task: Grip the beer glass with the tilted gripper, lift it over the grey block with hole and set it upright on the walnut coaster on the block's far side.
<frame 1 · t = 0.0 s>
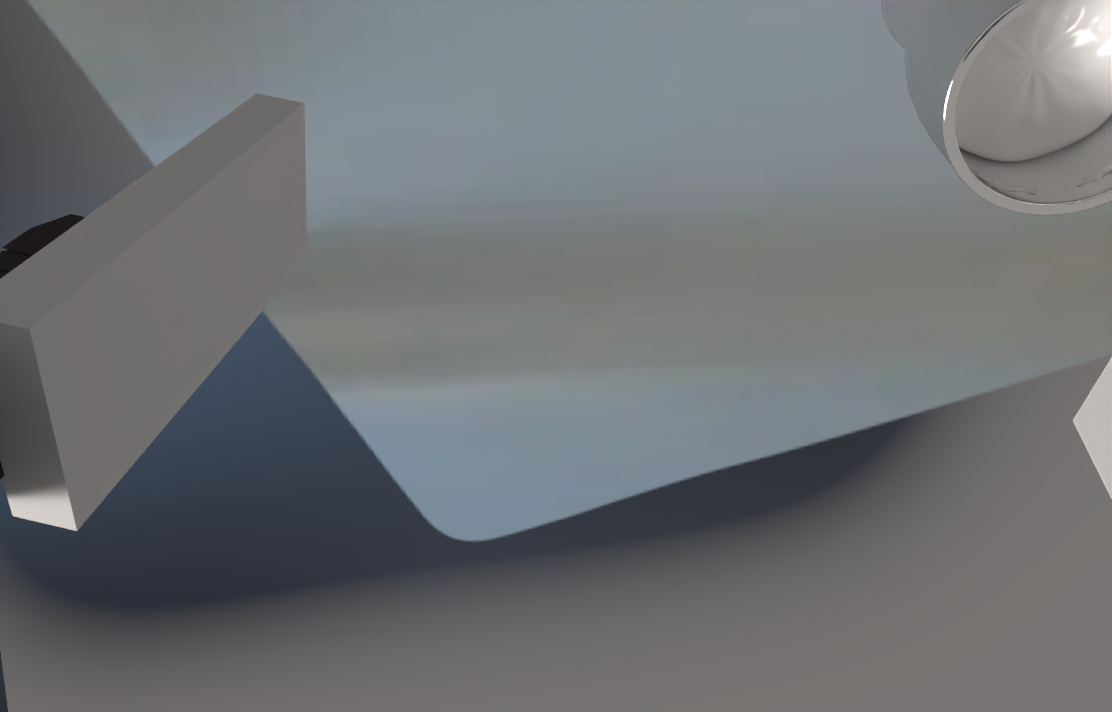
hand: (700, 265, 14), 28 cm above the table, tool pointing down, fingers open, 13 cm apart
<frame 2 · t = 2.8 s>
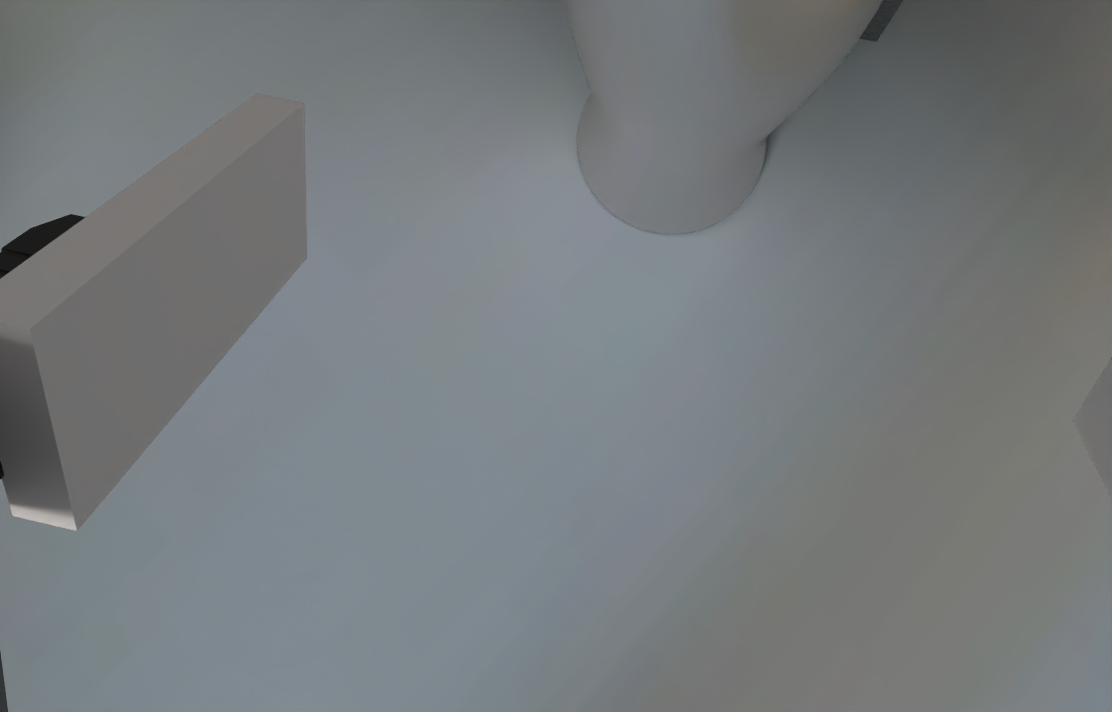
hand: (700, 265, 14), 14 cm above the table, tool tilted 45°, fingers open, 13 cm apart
beer glass: (669, 149, 30), on the table
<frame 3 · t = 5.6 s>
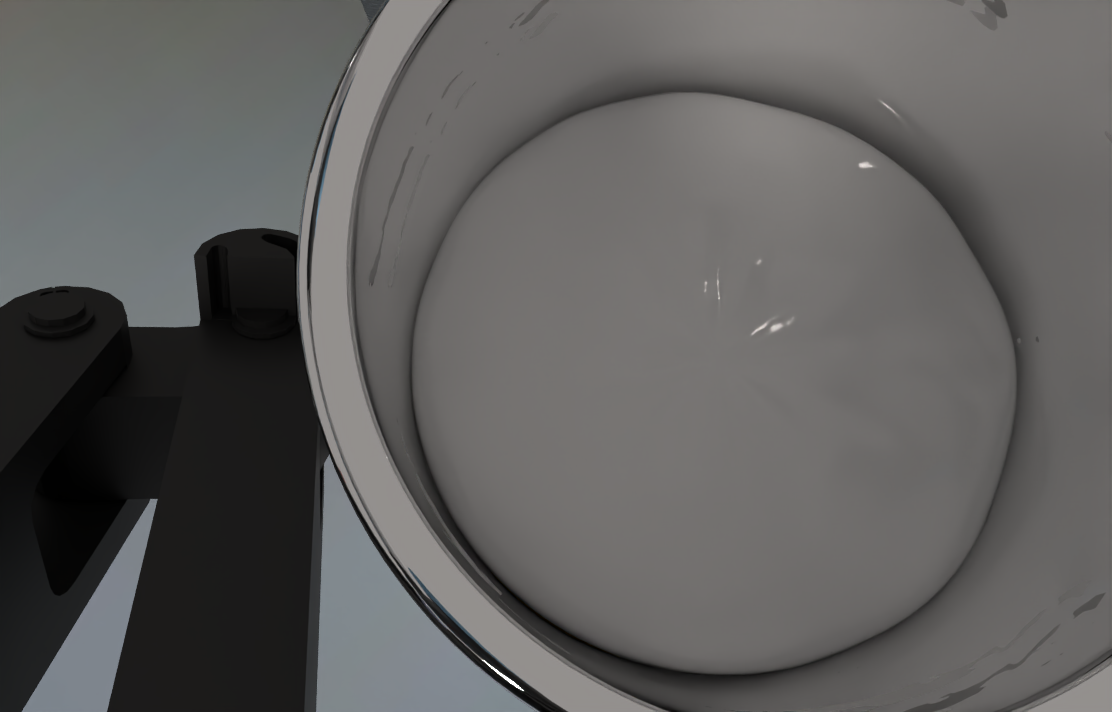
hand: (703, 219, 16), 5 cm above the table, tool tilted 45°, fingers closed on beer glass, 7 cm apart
beer glass: (638, 446, 21), on the table, touching gripper
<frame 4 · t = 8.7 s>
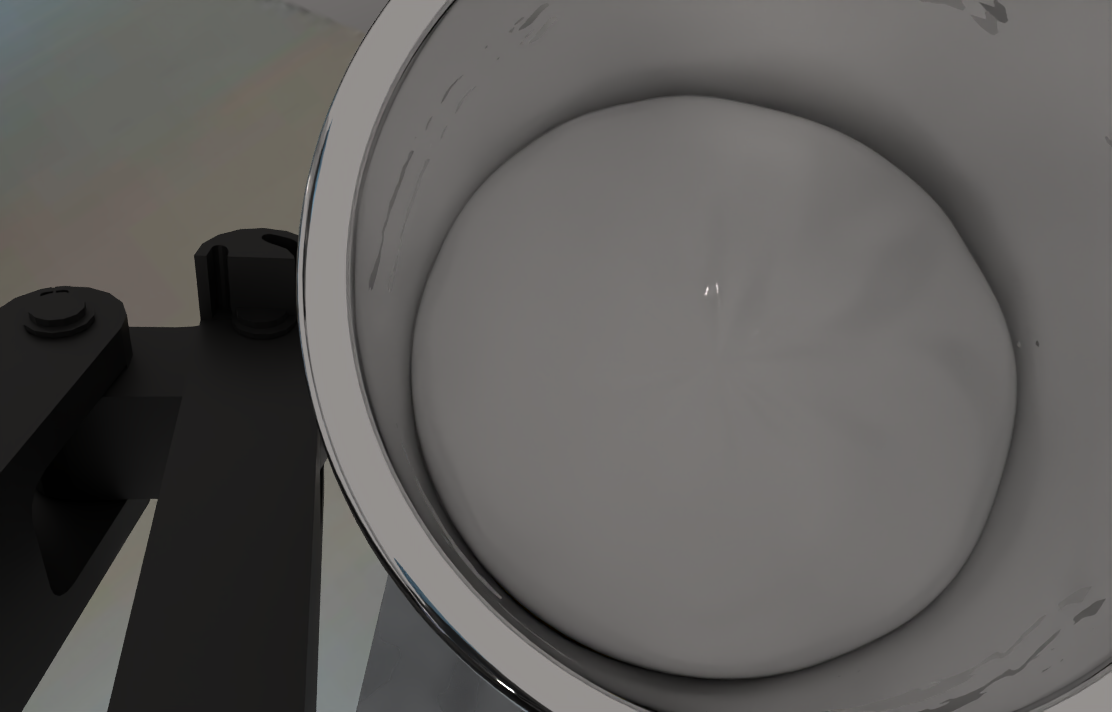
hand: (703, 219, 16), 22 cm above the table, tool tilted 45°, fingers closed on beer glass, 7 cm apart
beer glass: (638, 447, 21), point 16 cm above the table, touching gripper
grey block with hole: (566, 666, 35), on the table
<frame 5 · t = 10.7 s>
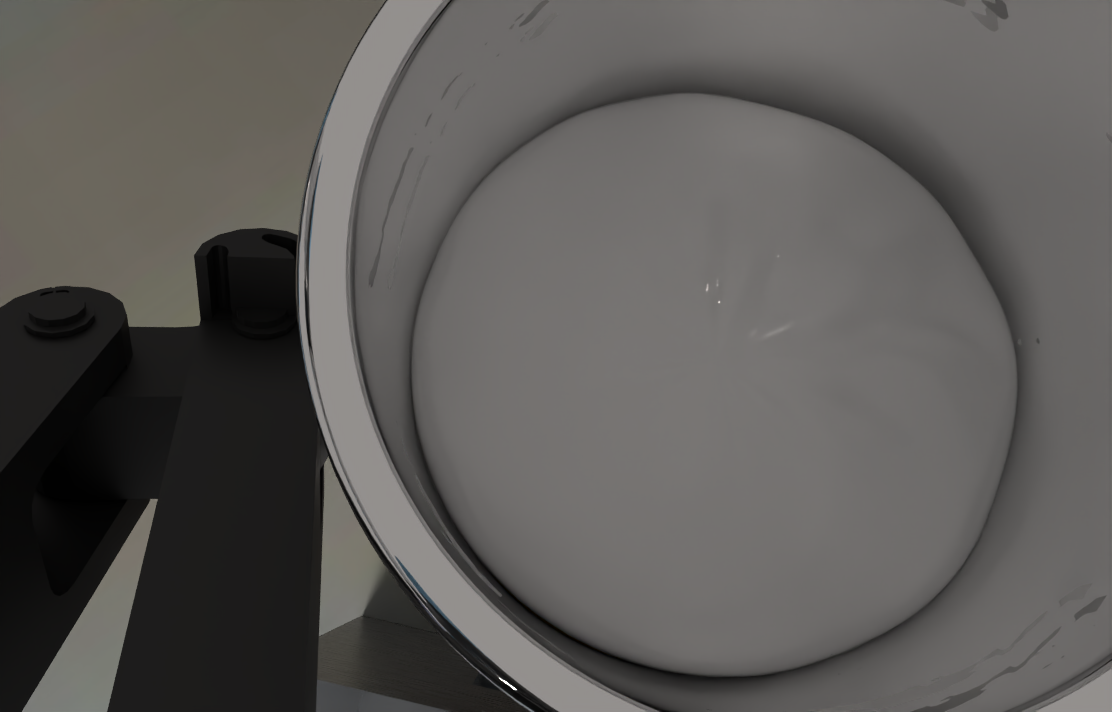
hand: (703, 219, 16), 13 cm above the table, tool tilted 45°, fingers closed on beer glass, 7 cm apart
beer glass: (638, 446, 21), point 7 cm above the table, touching gripper
when the fingers open (8 cm above the table, at t = 12.0 s): beer glass drops 1 cm, resting on walnut coaster.
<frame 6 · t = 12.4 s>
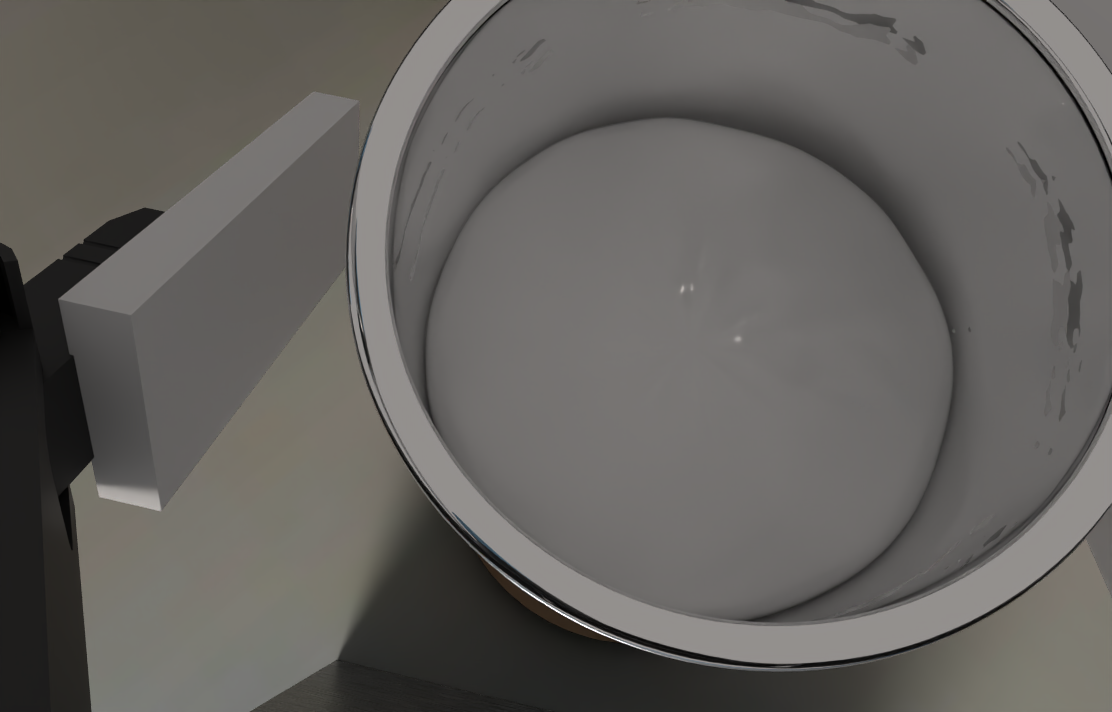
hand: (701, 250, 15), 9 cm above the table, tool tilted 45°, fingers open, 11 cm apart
walnut coaster: (631, 453, 23), on the table
beer glass: (628, 449, 22), point 1 cm above the table, touching walnut coaster
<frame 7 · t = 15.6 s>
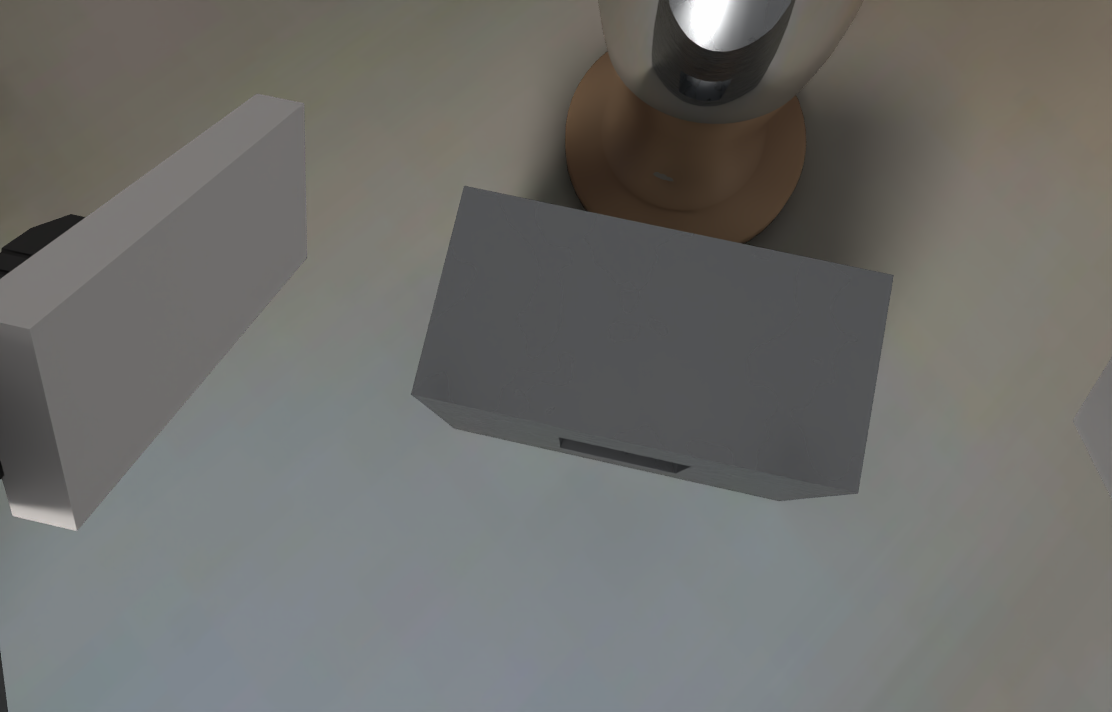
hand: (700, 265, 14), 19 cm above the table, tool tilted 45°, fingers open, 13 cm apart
walnut coaster: (682, 146, 35), on the table
beer glass: (681, 137, 34), point 1 cm above the table, touching walnut coaster
grey block with hole: (631, 384, 33), on the table
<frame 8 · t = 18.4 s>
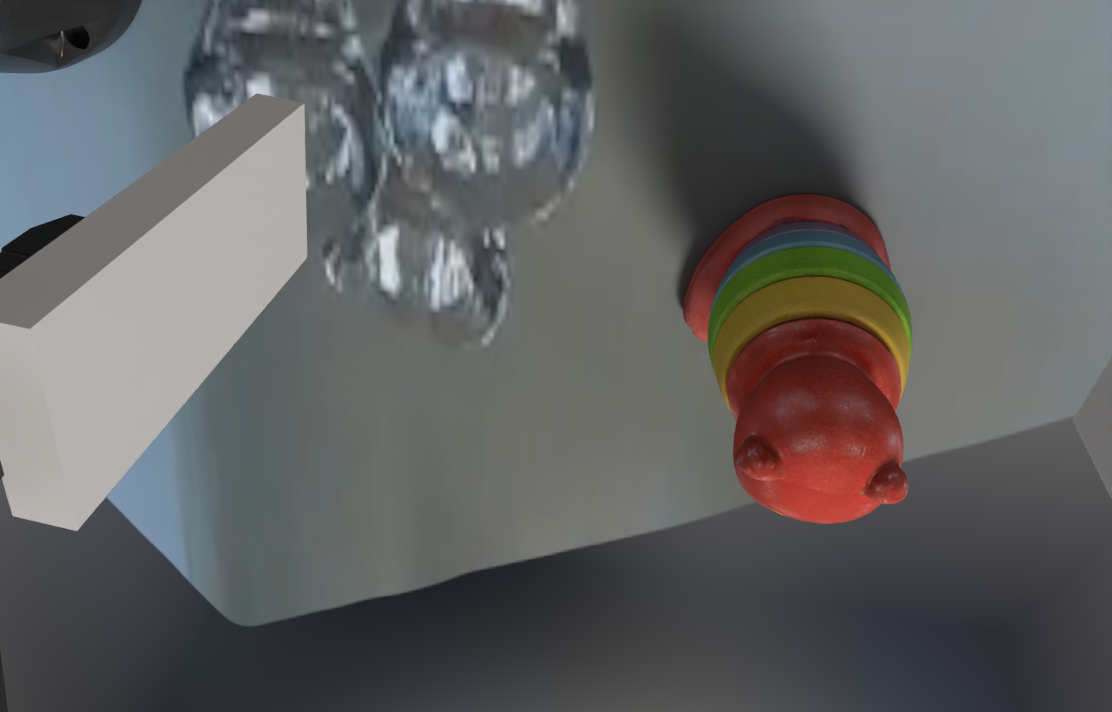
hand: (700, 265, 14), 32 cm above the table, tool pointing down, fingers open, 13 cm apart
stacking bear: (796, 273, 49), on the table
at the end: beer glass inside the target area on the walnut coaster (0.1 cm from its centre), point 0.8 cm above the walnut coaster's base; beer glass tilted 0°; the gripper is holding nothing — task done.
